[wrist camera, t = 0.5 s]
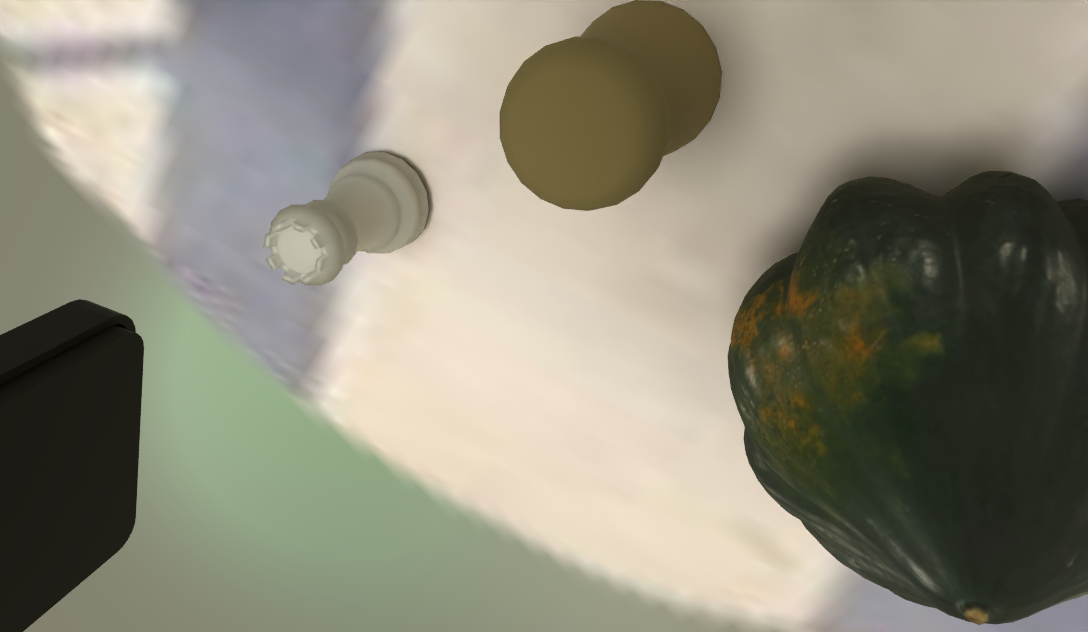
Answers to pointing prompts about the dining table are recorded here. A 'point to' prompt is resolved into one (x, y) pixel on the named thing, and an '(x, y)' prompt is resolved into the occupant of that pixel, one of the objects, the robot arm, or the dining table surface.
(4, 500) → the robot arm
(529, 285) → the dining table surface
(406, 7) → the dining table surface
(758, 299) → the squash
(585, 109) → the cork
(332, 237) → the rook chess piece
